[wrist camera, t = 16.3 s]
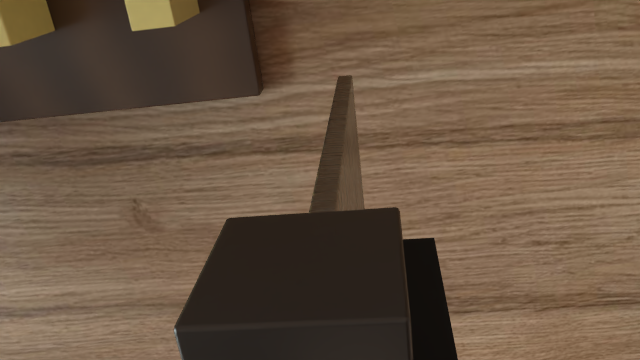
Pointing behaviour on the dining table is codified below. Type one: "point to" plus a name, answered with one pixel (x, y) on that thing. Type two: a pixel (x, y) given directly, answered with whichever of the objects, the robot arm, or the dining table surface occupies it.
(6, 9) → the butter block
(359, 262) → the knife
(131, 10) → the block
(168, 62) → the board
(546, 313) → the dining table surface
